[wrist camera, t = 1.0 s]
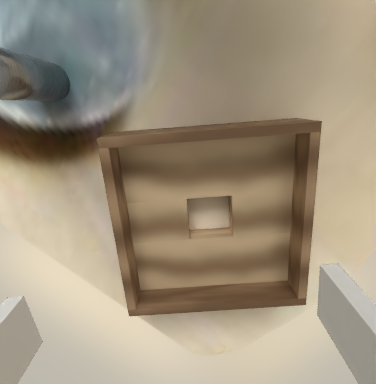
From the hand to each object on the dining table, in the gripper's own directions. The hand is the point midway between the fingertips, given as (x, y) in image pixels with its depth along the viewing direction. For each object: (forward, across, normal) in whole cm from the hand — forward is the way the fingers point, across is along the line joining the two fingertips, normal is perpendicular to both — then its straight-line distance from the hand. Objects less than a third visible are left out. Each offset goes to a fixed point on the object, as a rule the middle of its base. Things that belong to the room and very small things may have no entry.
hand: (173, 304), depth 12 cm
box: (+22, +3, -6) cm, 23 cm away
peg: (+23, -13, +12) cm, 29 cm away
